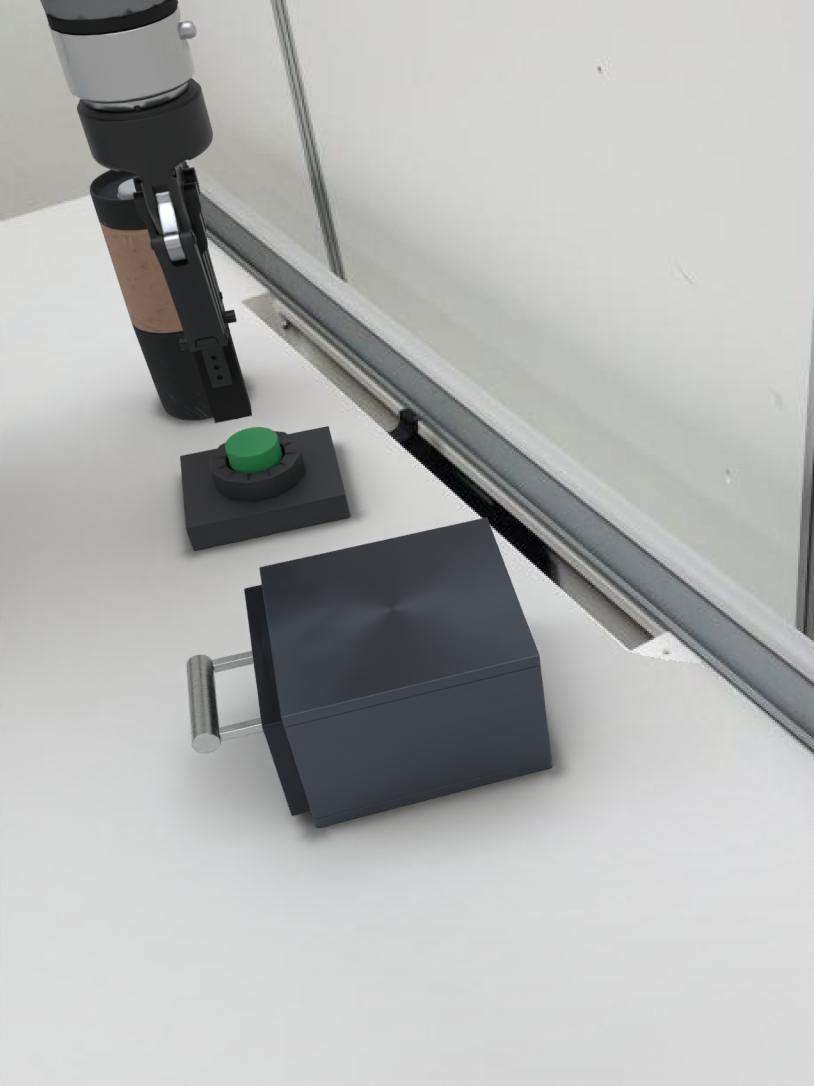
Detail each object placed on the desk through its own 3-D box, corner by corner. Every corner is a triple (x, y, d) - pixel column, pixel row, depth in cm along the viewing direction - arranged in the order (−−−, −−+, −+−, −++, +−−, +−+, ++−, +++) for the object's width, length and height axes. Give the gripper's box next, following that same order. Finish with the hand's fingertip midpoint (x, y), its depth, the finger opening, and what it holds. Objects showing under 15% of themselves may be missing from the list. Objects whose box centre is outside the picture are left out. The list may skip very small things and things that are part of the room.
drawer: (216, 835, 75) (180, 746, 70) (204, 692, 84) (171, 604, 79) (512, 760, 78) (499, 669, 73) (470, 630, 87) (455, 540, 82)
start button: (232, 479, 97) (226, 460, 96) (228, 451, 100) (223, 432, 99) (284, 468, 98) (279, 449, 97) (279, 440, 101) (274, 422, 100)
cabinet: (316, 828, 76) (281, 717, 70) (291, 676, 86) (258, 566, 79) (552, 767, 79) (539, 655, 72) (502, 626, 88) (487, 516, 82)
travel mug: (151, 390, 114) (79, 174, 101) (234, 366, 117) (174, 152, 104) (170, 431, 109) (97, 209, 96) (257, 405, 112) (197, 185, 98)
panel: (193, 551, 97) (179, 509, 94) (187, 477, 104) (173, 437, 101) (350, 517, 99) (341, 475, 96) (333, 447, 106) (324, 406, 103)
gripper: (202, 115, 74) (292, 452, 89) (195, 46, 83) (277, 361, 99) (69, 136, 73) (183, 473, 88) (77, 63, 82) (179, 379, 98)
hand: (233, 413), depth 94 cm, fingers closed
